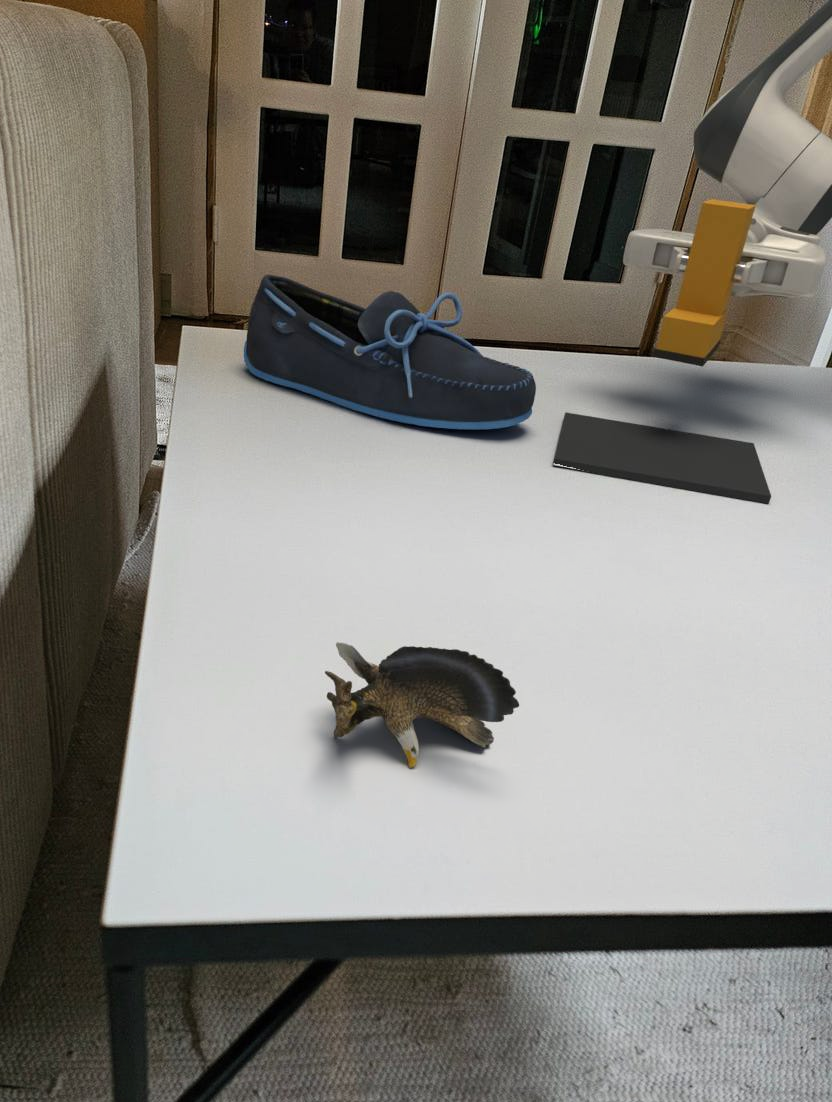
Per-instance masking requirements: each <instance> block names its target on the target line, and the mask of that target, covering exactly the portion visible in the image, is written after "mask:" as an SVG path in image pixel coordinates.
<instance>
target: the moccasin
mask: <svg viewBox="0 0 832 1102" xmlns="http://www.w3.org/2000/svg"><path fill="white" fill-rule="evenodd" d="M446 299H449V300H452V302H453V305H454V308H455V311H456V316H455V318H454V319H452V320H438V319H431V317H432V316H433V315H434V313H435V312H436V310H437V309H438V307H439V306H440V304H441V303H442V302H443V301H445V300H446ZM462 318H463V307H462V303H461V301H460V299H459V297H458V296H457V295H456V294H454V293H452V292H444V293H441V294H440V295H439V296H438V297H437V298H436V299H435V301H433V303H432V305H431V306H430V307H429V309H428V311H427V313H426V314H425V313H423V312H421V311H420V310H419V309H418V308H417V307H416V306H415V305H414V304H413V303H412V302H411V301H410V300H408V299H407V297H406V296H405V295H403V294H402V293H401V292H398V291H393V290H388V291H385V292H383V293H382V294H380V295H378V296H377V297H376V298H375V299H373V301H372V302H371V303H370V304H369V305H367V307H366V308H365V307H363V306H360V305H358V304H355V303H352V302H349V301H347V300H344V299H342V298H339V297H336V296H334V295H330V294H328V293H324V292H322V291H319V290H317V289H314V288H312V287H309V286H307V285H304V284H302V283H300V282H298V281H295V280H293V279H290V278H287V277H284V276H279V275H275V274H274V275H273V274H265V275H264V276H262V278H261V280H260V284H259V287H258V288H257V291H256V294H255V296H254V300H253V302H252V305H251V307H250V311H249V317H248V322H247V331H246V340H245V342H244V346H243V359H244V361H243V362H244V364H245V366H246V368H247V369H248V370H249V371H250V373H251V374H252V375H254V376H255V377H258V378H260V379H262V380H264V381H266V382H270V383H272V384H274V385H275V384H276V385H280V386H282V387H287V388H289V389H290V388H292V389H294V390H298V391H300V392H303V393H305V394H310V395H312V396H315V397H318V398H320V399H323V400H325V401H329V402H331V403H333V404H336V405H338V406H341V407H344V408H347V409H350V410H352V411H356V412H360V413H363V414H367V415H370V416H373V417H377V418H381V419H385V420H389V421H394V422H398V423H401V424H402V423H403V424H409V425H415V426H419V427H420V426H421V427H430V428H437V429H451V430H493V429H504V428H508V427H513V426H517V425H519V424H521V423H523V422H525V421H527V420H529V418H530V417H531V416H532V414H533V406H534V403H535V398H536V392H537V384H536V381H535V378H534V375H533V373H532V372H530V370H527V369H526V368H521V367H520V366H519V365H513V364H510V363H508V362H502V361H498V360H497V359H493V358H490V357H487V356H484V355H483V354H482V353H481V352H480V351H479V350H478V349H477V348H476V347H475V346H474V345H473V344H471V343H470V342H469V341H468V340H466V339H464V338H462V337H461V336H460V335H457V334H456V333H454V332H452V331H450V330H448V329H446V328H451V327H455V326H456V325H458V324H459V323H460V322H461V320H462Z"/></svg>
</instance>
